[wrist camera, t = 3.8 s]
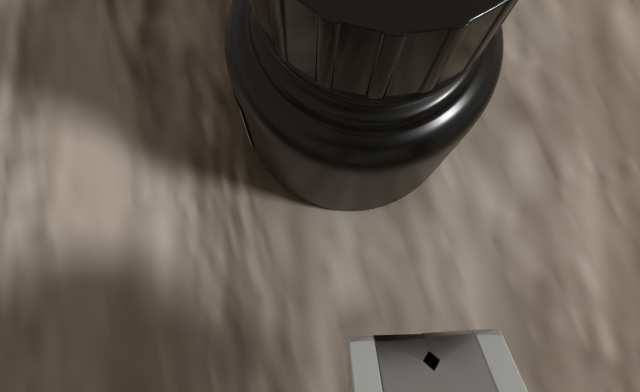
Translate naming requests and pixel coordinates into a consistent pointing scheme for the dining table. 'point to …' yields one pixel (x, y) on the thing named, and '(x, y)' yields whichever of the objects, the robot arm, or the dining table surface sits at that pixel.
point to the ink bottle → (361, 89)
